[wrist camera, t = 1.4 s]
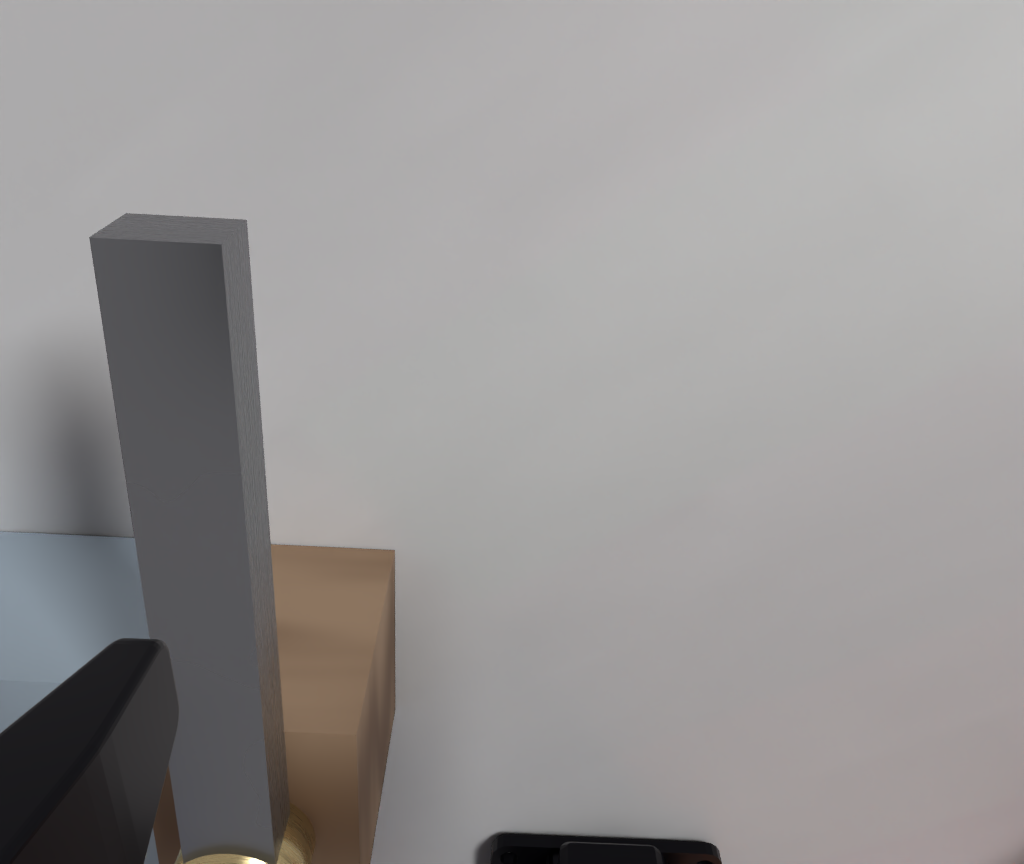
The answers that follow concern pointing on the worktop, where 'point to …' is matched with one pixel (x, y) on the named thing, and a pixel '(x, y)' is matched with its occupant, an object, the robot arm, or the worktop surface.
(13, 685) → the blue-grey block
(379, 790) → the tan wooden block
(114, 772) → the robot arm
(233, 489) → the bar
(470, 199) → the worktop surface
